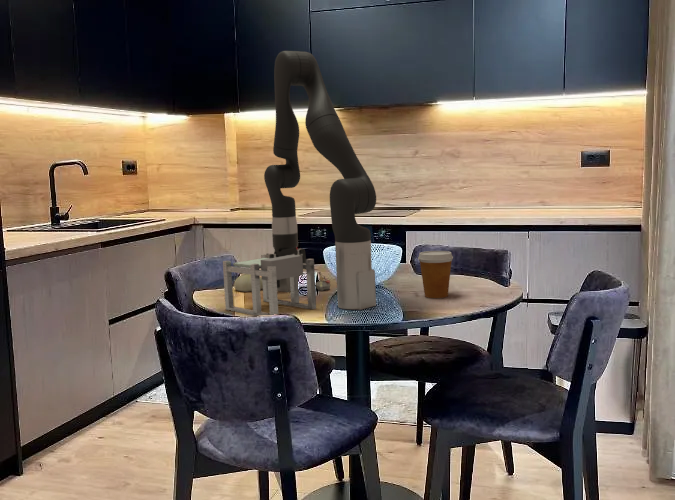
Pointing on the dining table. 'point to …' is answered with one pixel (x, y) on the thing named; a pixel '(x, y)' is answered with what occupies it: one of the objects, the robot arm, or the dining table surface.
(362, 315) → the dining table surface
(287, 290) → the basalt cube
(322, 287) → the figurine
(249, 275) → the sea urchin shell
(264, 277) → the trapdoor
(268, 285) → the frame
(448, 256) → the disposable coffee cup
